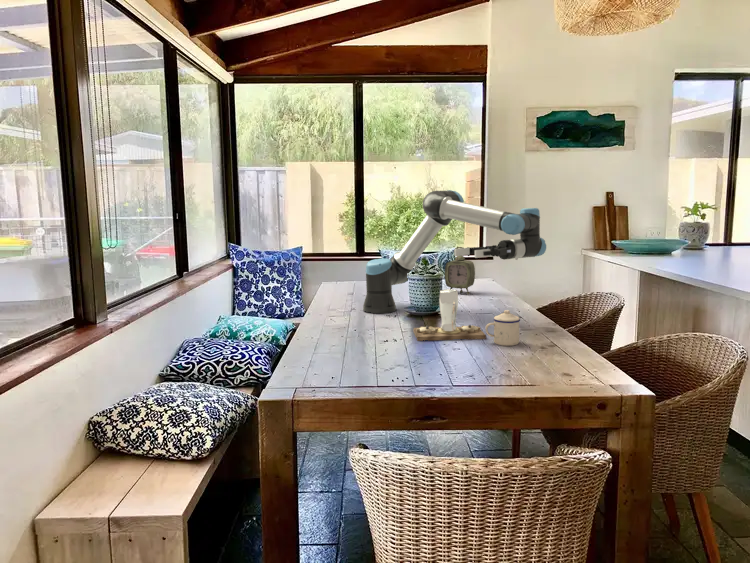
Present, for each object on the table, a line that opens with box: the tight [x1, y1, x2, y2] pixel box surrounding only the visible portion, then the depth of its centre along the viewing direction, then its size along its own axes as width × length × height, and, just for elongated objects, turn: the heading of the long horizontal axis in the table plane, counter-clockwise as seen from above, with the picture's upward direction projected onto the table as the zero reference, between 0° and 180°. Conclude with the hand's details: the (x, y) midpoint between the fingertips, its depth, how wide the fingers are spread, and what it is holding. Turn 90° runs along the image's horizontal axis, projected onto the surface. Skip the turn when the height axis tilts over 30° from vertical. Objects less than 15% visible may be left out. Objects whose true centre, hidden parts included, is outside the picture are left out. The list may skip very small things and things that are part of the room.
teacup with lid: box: [484, 309, 521, 347], centre depth 197 cm, size 12×9×12 cm
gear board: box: [413, 324, 487, 342], centre depth 210 cm, size 25×14×4 cm, turn 92°
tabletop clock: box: [444, 246, 476, 295], centre depth 298 cm, size 14×9×25 cm, turn 62°
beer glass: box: [438, 288, 459, 332], centre depth 209 cm, size 7×7×15 cm
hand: (464, 253), depth 210 cm, fingers open, 13 cm apart
